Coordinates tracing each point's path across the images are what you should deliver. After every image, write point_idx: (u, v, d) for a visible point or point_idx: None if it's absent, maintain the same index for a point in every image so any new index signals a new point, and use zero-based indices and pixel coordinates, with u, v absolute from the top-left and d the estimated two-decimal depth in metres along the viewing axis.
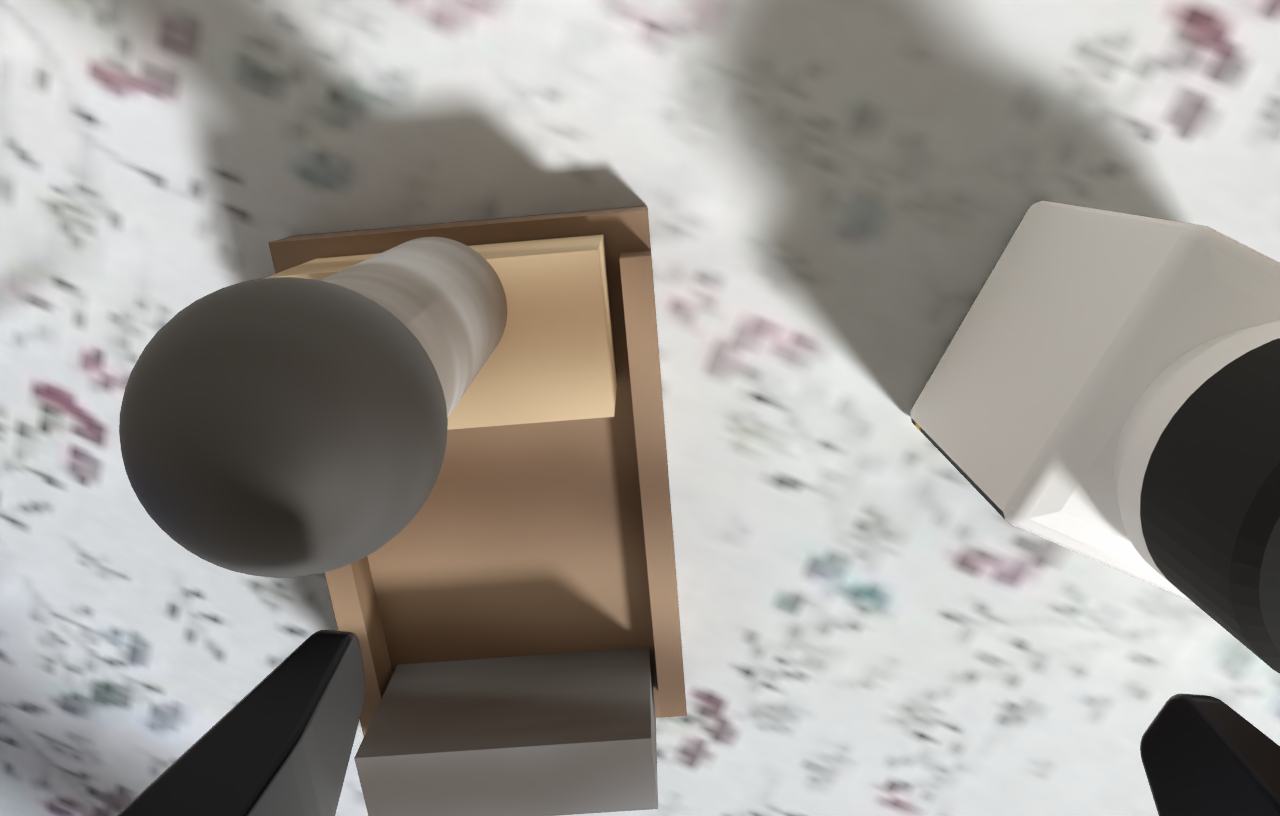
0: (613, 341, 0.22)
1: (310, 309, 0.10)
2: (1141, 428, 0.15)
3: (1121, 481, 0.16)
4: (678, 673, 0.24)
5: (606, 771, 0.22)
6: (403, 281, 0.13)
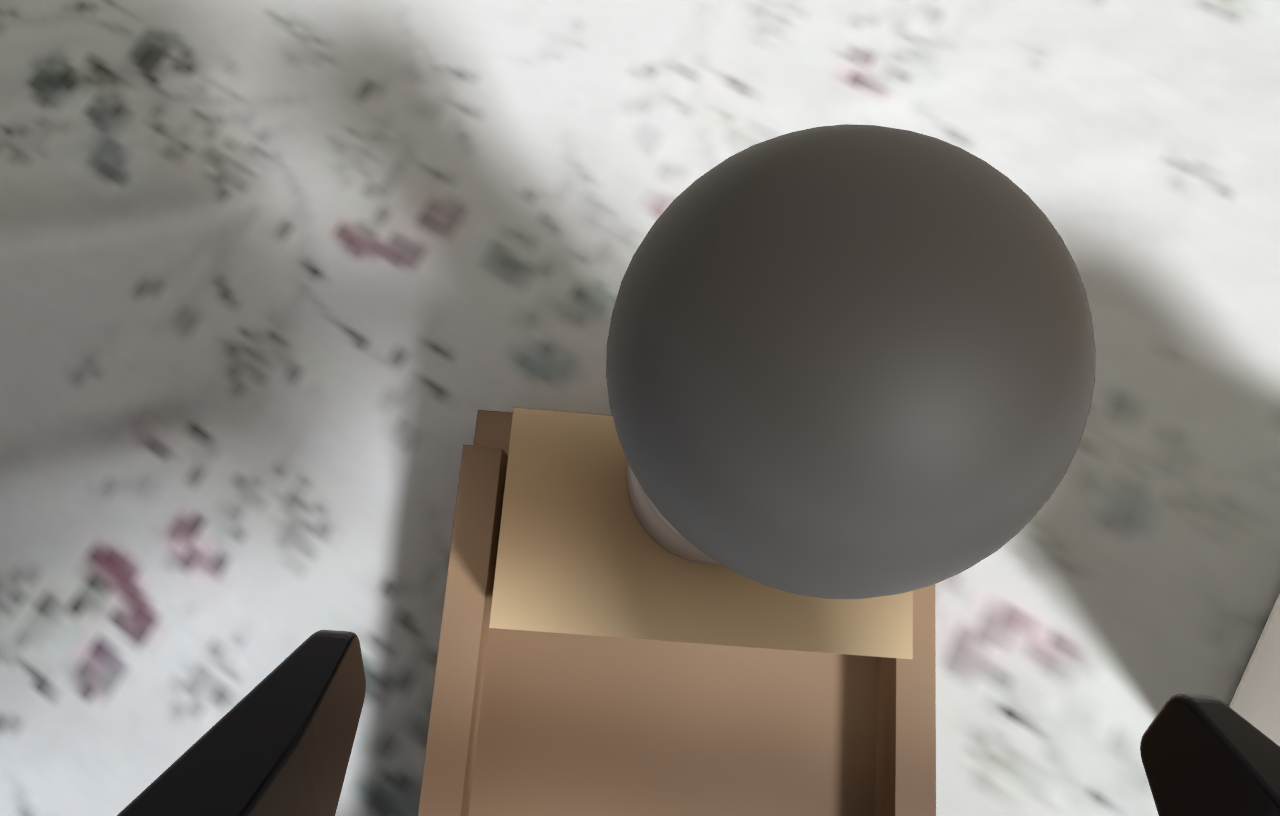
0: None
1: None
2: None
3: None
4: None
5: None
6: None
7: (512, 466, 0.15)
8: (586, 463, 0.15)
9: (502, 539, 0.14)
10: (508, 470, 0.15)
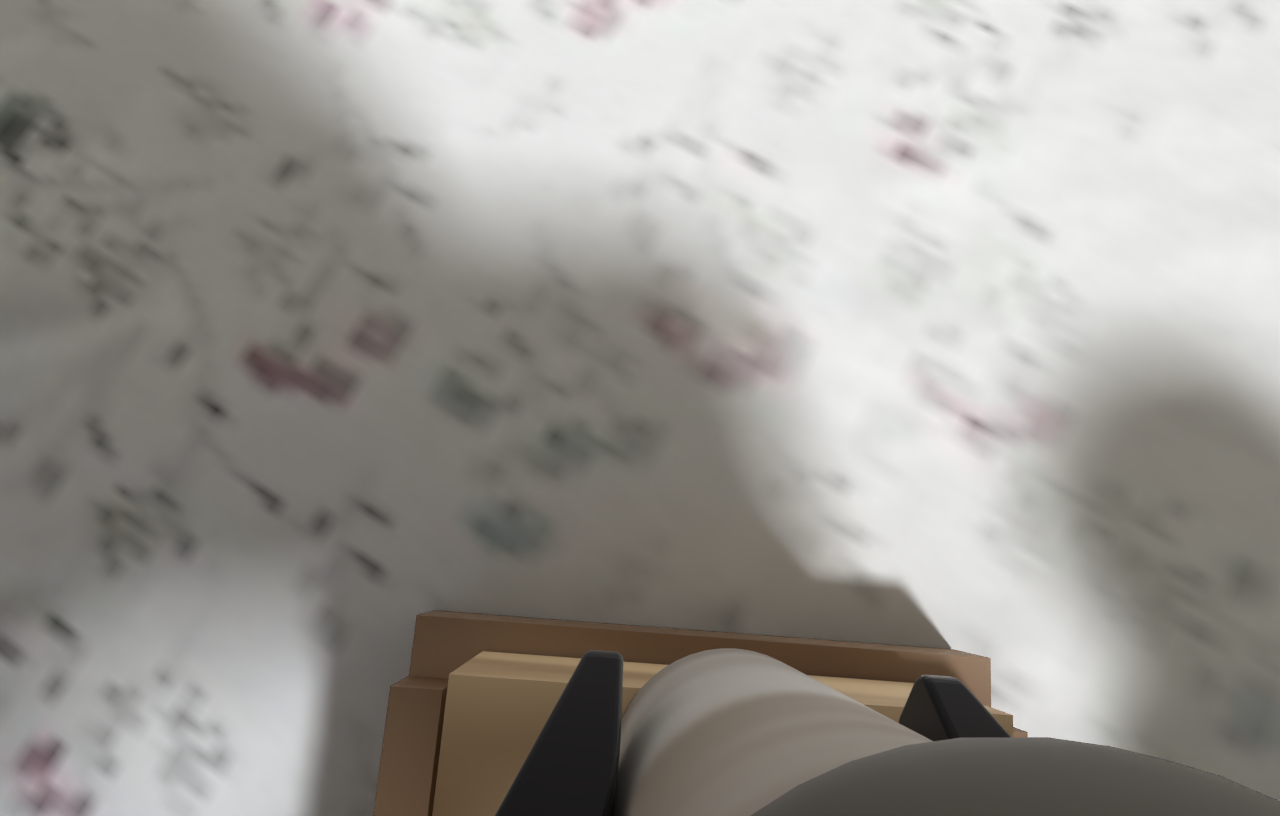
0: None
1: None
2: None
3: None
4: None
5: None
6: None
7: (446, 763, 0.10)
8: None
9: None
10: (440, 769, 0.10)
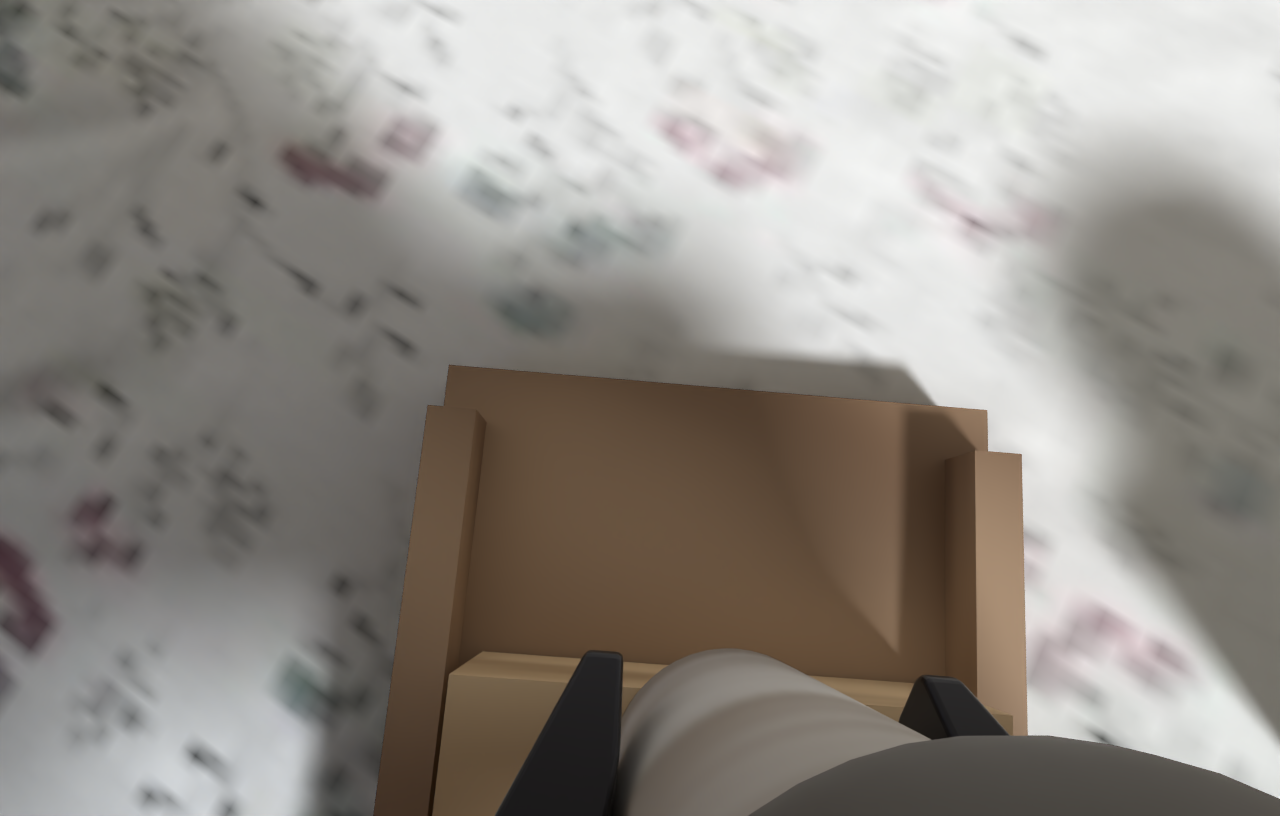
0: None
1: None
2: None
3: None
4: None
5: None
6: None
7: (446, 763, 0.10)
8: None
9: None
10: (440, 769, 0.10)
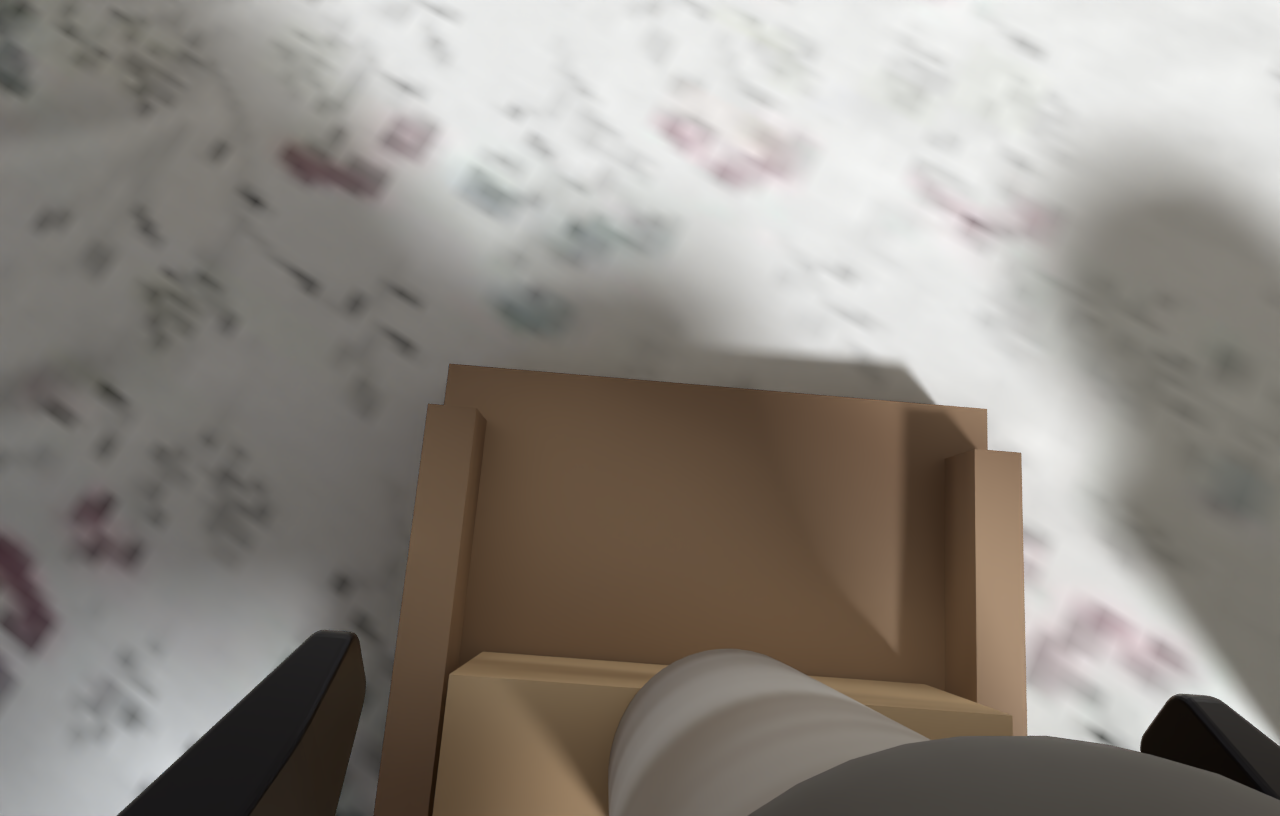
0: None
1: None
2: None
3: None
4: None
5: None
6: None
7: (446, 763, 0.10)
8: (552, 757, 0.10)
9: None
10: (440, 769, 0.10)
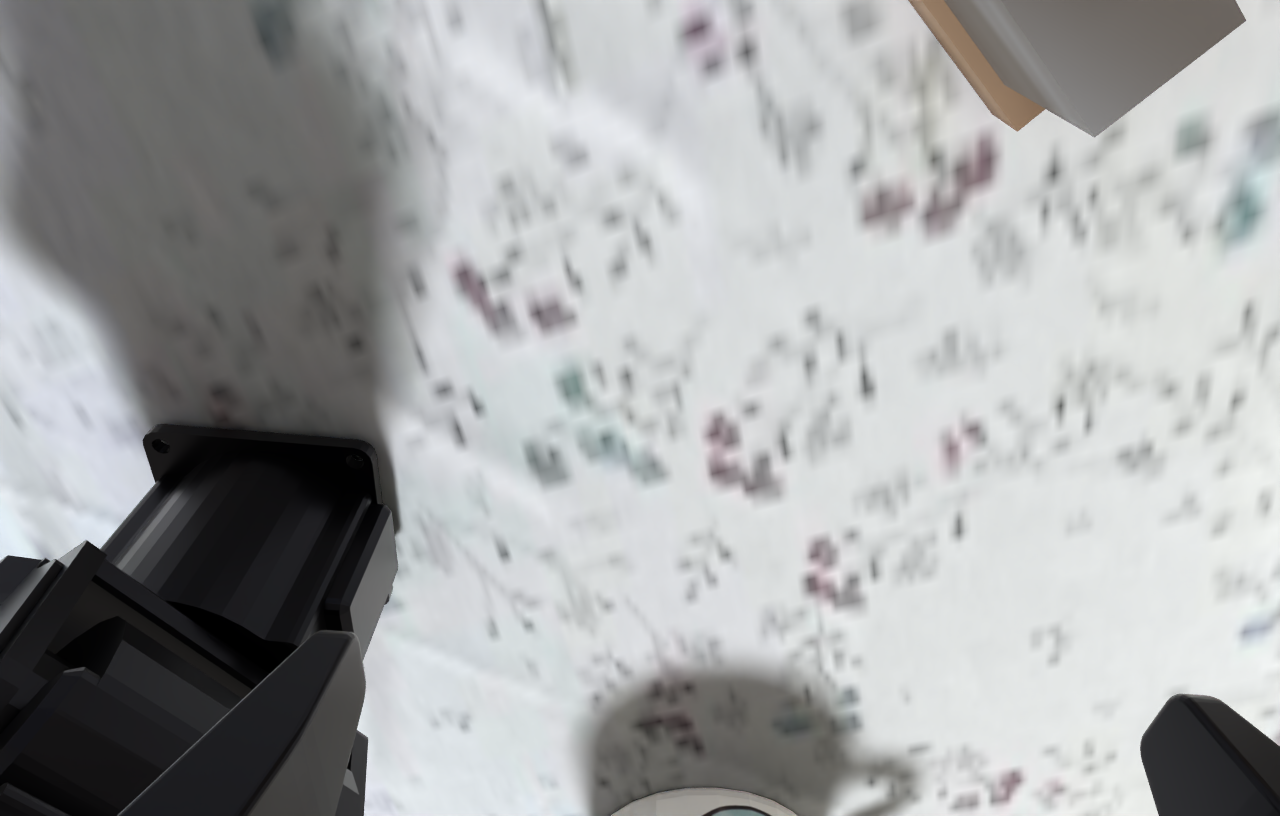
0: None
1: None
2: None
3: None
4: None
5: (1138, 5, 0.12)
6: None
7: None
8: None
9: None
10: None
